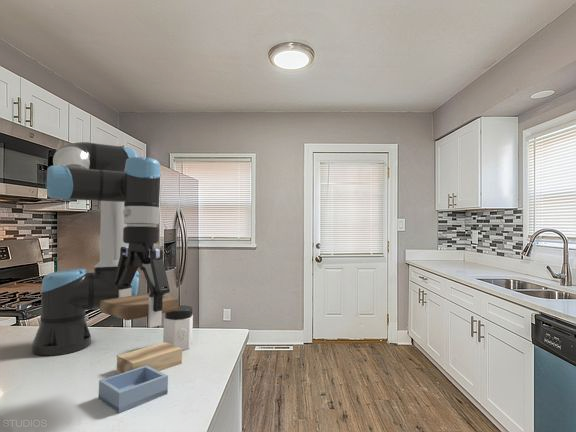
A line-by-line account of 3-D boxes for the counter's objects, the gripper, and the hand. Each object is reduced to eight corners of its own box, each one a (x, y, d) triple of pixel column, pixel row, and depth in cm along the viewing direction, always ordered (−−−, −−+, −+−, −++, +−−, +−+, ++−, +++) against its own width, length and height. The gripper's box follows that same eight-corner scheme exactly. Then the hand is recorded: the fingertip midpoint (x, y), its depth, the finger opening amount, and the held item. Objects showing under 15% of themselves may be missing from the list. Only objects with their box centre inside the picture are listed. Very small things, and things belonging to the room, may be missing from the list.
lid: (99, 311, 79) (100, 300, 79) (149, 303, 89) (149, 293, 89) (127, 320, 72) (127, 307, 72) (178, 310, 81) (178, 299, 81)
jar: (166, 353, 104) (167, 312, 104) (159, 345, 111) (160, 307, 111) (196, 348, 109) (197, 309, 109) (188, 340, 116) (189, 304, 116)
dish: (98, 399, 76) (99, 380, 77) (146, 382, 85) (146, 365, 85) (118, 413, 71) (119, 393, 71) (167, 393, 80) (168, 375, 80)
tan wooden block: (116, 371, 91) (117, 355, 91) (165, 356, 102) (165, 342, 102) (132, 380, 86) (133, 363, 86) (181, 363, 97) (182, 348, 97)
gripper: (99, 225, 85) (96, 316, 84) (156, 225, 71) (154, 335, 70) (129, 226, 91) (127, 310, 90) (188, 226, 76) (186, 327, 76)
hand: (138, 321), depth 80 cm, fingers closed on lid, 12 cm apart
